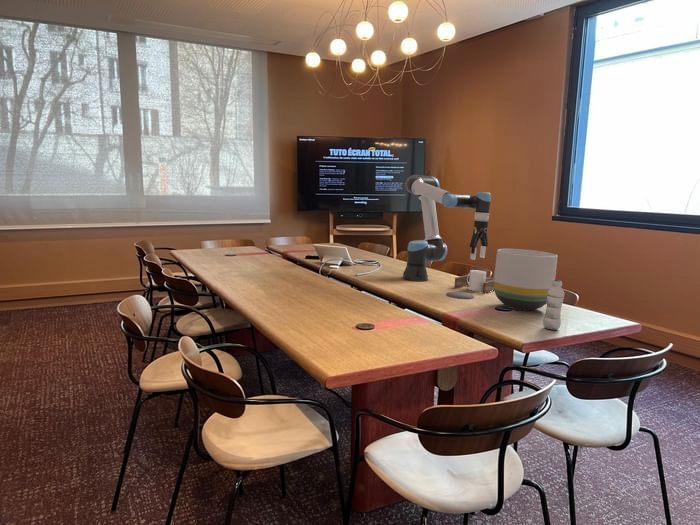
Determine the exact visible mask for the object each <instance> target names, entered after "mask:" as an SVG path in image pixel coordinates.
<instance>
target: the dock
mask: <svg viewBox="0 0 700 525" xmlns="http://www.w3.org/2000/svg"><path fill="white" fill-rule="evenodd" d="M467 276H468V274H465V275H460V276H457V277H454V286H453V288H454V289H456V290H457V289H460V287H461V288H464V287H467V286H466V285H468V283H467ZM469 279H470V276H469V277H468V282H469ZM463 286H464V287H463ZM468 286H469V285H468ZM492 290H494V277H487V276H486V279H485V282H484V283H483V291H482V294H483V293H486V294H488V293H487V292H489V293H491V292H490V291H492ZM492 292H493V291H492Z"/></svg>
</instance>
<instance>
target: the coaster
mask: <svg viewBox="0 0 700 525" xmlns="http://www.w3.org/2000/svg"><path fill="white" fill-rule="evenodd" d="M446 296H447V297H449V298H454V299H458V300H459V299H460V300H471V299H474V298H475V296H474V295H473V294H472V293H468V292H461V291H448V292H446Z"/></svg>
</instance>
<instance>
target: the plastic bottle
mask: <svg viewBox="0 0 700 525" xmlns="http://www.w3.org/2000/svg"><path fill="white" fill-rule="evenodd" d="M551 285H552V287H551V288H550V289H549V290H548V292H547V304H546V308H545V309H546V310H545V314H544V317H543V321H542V326H543V327H544V329H547V330H551V331H552V330H555V331H556V330H557V331H558V330H559V329H560V328H561V325H562V324H561V323H562V322H561V320H562V319H561V317H562V316H561V313H562V312H561V311H562V306H563V302H564V300H565V299H564V298H565V296H566V294H565V291H564V289H563V288H562V286H563V281H562V280H559V279H558V280H557V279H555V280H552V284H551Z"/></svg>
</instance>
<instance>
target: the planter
mask: <svg viewBox="0 0 700 525" xmlns="http://www.w3.org/2000/svg"><path fill="white" fill-rule="evenodd" d="M495 257H496V258H495V266H494V267H495V268H494V275H493V276H494V277H493V279H494V291H493V292H494V294H495V296H496V297H497V299H498V301H500V302H501V303H502V304H503V305H505V307H508V308H510V309H514V310H517V311H535V310H538V309H541V308H542V307H544V306H546V305H547V292H548V290H549V289H550V288H551V287H552V285H551V284H552V280H556V274H557V266H558V254H555V253H552V252H548V251H547V252H546V251H540V250H533V249H521V248H520V249H519V248H498V249H497V251H496V256H495Z"/></svg>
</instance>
